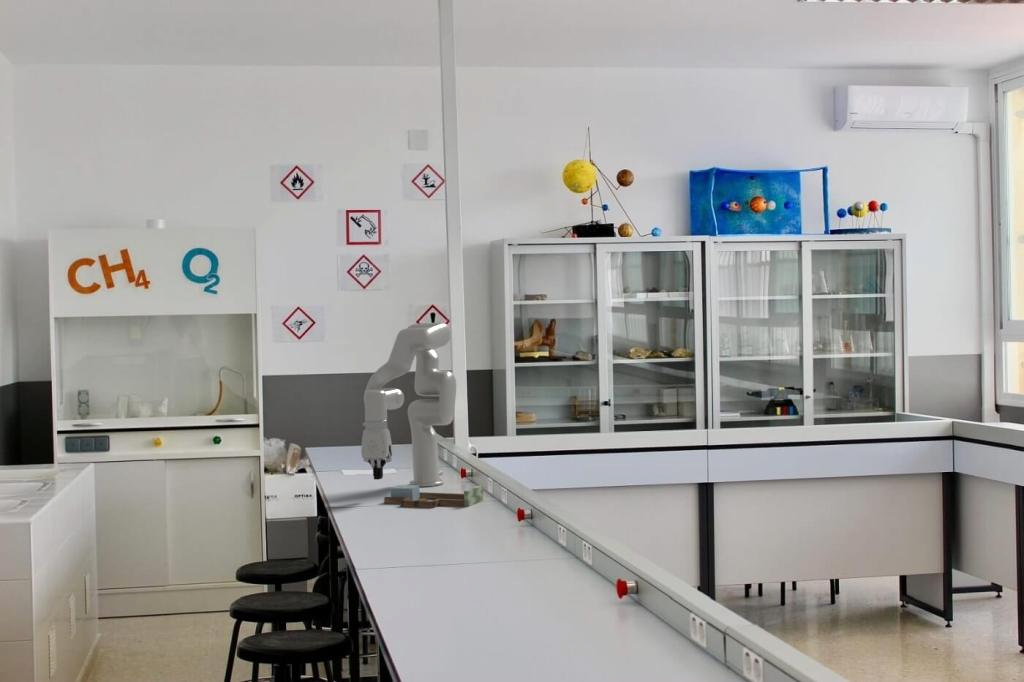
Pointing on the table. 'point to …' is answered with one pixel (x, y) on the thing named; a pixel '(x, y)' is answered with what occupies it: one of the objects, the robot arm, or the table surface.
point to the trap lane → (440, 499)
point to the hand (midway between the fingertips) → (378, 478)
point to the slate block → (406, 491)
